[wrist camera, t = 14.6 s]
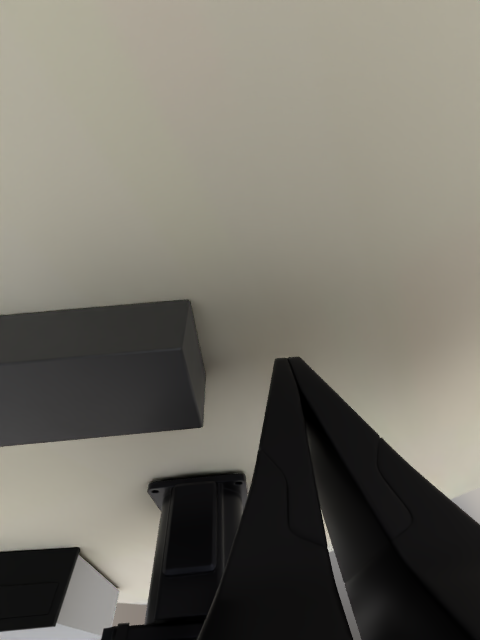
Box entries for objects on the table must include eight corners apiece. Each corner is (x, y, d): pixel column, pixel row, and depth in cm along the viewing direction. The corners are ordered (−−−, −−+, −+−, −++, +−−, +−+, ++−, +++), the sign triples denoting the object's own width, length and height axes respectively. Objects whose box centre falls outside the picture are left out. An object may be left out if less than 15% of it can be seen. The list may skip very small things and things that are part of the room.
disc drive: (78, 547, 25) (51, 627, 21) (121, 588, 38) (110, 641, 34) (-130, 559, 23) (-202, 649, 19) (-8, 598, 36) (-35, 655, 33)
